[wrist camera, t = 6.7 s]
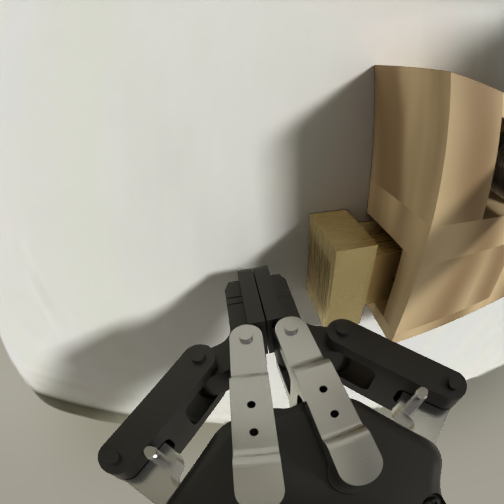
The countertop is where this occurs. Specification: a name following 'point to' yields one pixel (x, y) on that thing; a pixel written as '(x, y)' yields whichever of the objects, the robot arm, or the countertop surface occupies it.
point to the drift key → (348, 265)
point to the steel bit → (499, 169)
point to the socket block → (436, 196)
